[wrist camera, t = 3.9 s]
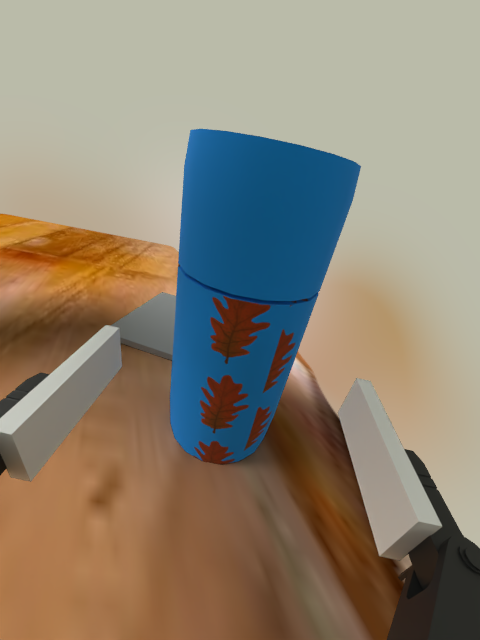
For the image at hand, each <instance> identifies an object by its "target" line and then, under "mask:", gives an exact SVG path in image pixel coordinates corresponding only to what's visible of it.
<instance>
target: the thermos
mask: <svg viewBox="0 0 480 640" xmlns="http://www.w3.org/2000/svg"><path fill="white" fill-rule="evenodd" d="M360 168H361V166H360V165H358V164H357V163H356V162H354V161H351V160H348V159H346V158H343V157H340V156H337V155H335V154H331V153H327V152H324V151H320V150H316V149H312V148H309V147H305V146H301V145H297V144H292V143H287V142H283V141H278V140H274V139H269V138H264V137H259V136H253V135H247V134H241V133H234V132H228V131H220V130H208V129H196V130H191V131H190V137H189V142H188V148H187V154H186V159H185V165H184V181H183V198H182V213H181V229H180V246H179V261H178V263H179V266H178V277H177V293H176V309H175V325H174V342H173V358H172V374H171V390H170V422H171V427H172V430H173V434H174V437H175V439H176V440H177V442H178V443H179V444H180V445H181V446H182V448H183V449H184V450H185V451H186V452H187V453H189V454H191V455H192V456H194V457H196V458H198V459H199V460H201V461H204V462H210V463H216V464H227V463H232V462H238V461H241V460H242V459H244V458H246V457H247V456H249V455H250V454H252V453H254V452H255V450H256V449H257V448H258V446H259V445H260V443H261V442H262V440H263V439H264V436H265V434H266V432H267V430H268V428H269V426H270V423H271V421H272V419H273V417H274V414H275V412H276V409H277V406H278V403H279V401H280V398H281V395H282V392H283V390H284V387H285V384H286V381H287V379H288V376H289V373H290V370H291V368H292V365H293V362H294V360H295V357H296V354H297V351H298V349H299V346H300V342H301V340H302V338H303V335H304V332H305V329H306V327H307V324H308V321H309V318H310V316H311V313H312V310H313V307H314V305H315V302H316V299H317V297H318V292H319V291H320V288H321V285H322V283H323V280H324V277H325V275H326V272H327V269H328V266H329V264H330V260H331V258H332V255H333V253H334V250H335V247H336V244H337V241H338V239H339V236H340V233H341V231H342V228H343V225H344V222H345V220H346V217H347V214H348V212H349V209H350V206H351V203H352V201H353V197H354V193H355V188H356V184H357V180H358V176H359V172H360Z"/></svg>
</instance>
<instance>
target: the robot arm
mask: <svg viewBox="0 0 480 640" xmlns="http://www.w3.org/2000/svg"><path fill="white" fill-rule="evenodd" d="M121 367H122V358H121V343H120V328H118V327H113V326H108V325H105V326H104V327H103V328H102V329H101V330H100V331H98V332H97V333H96V334H95V335H94V336H93V337H92V338H90V339H89V340H88V341H87V342H86V343H85V344H84V345H83V346H81V347H80V348H79V349H78V350H77V351H76V352H75V353H73V354H72V355H71V356H70V357H69V358H68V359H67V360H66V361H64V362H63V363H62V364H61V365H60V366H59V367H58V368H57V369H55V370H54V371H53V372H52V373H51V374H45V373H39V374H37V375H35V376H33V377H31V378H29V379H27V380H26V381H24V382H23V383H22V384H21V385H20V386H18V387H17V388H16V390H15V391H12V392H11V393H10V394H9V395H7V396H6V398H5V399H3V400H1V401H0V475H1V474H2V473H3V472H4V470H5V469H7V471H8V473H9V475H10V477H11V478H16V479H21V480H25V481H30V482H31V481H32V480H33V478H34V477H35V476H36V475H37V473H38V472H39V471H40V469H41V468H42V467H43V466H44V464H45V463H46V462H47V461H48V459H49V458H50V457H51V456H52V454H53V453H54V452H55V451H56V449H57V448H58V447H59V446H60V444H61V443H62V442H63V440H64V439H65V438H66V437H67V435H68V434H69V433H70V432H71V430H72V429H73V428H74V427H75V425H76V424H77V423H78V422H79V420H80V419H81V418H82V416H83V415H84V414H85V413H86V411H87V410H88V409H89V408H90V406H91V405H92V404H93V403H94V401H95V400H96V399H97V398H98V396H99V395H100V394H101V393H102V391H103V390H104V389H105V387H106V386H107V385H108V384H109V382H110V381H111V380H112V379H113V377H114V376H115V375H116V374H117V372H118V371H119V370H120V369H121ZM338 415H339V418H340V422H341V425H342V429H343V432H344V436H345V439H346V442H347V446H348V449H349V453H350V456H351V460H352V463H353V467H354V470H355V474H356V477H357V480H358V484H359V487H360V491H361V494H362V498H363V501H364V505H365V508H366V512H367V515H368V519H369V522H370V525H371V529H372V532H373V536H374V539H375V543H376V546H377V550H378V553H379V556H381V557H385V558H390V559H395V560H399V561H400V560H401V559H402V558H404V557H405V556H406V555H407V554H409V557H410V560H411V562H412V566H411V567H409V568H408V569H407V570H405V571H404V572H403V573H401V574H400V576H399V577H398V578H399V579H400V580H401V581H402V580H403V579H405V578H406V580H405V583H404V586H403V589H402V593H401V596H400V599H399V602H398V605H397V609H396V612H395V615H394V618H393V622H392V625H391V628H390V631H389V634H388V638H387V640H480V548H478V546H477V545H475V544H474V543H473V542H471V541H470V540H468V539H467V538H465V537H464V536H463V535H462V533H461V531H460V530H459V528H458V526H457V524H456V522H455V520H454V518H453V517H452V515H451V513H450V511H449V509H448V507H447V506H446V504H445V502H444V500H443V498H442V496H441V494H440V492H439V491H438V490H437V487H436V485H435V483H434V481H433V480H432V479H431V476H430V474H429V472H428V470H427V468H426V467H425V465H424V463H423V462H422V461H421V460H420V458H419V457H418V456H417V455H416V454H415V453H414V452H413V451H410V450H406V449H404V448H403V446H402V444H401V442H400V440H399V438H398V436H397V434H396V432H395V430H394V428H393V426H392V424H391V422H390V420H389V418H388V416H387V413H386V412H385V410H384V408H383V405H382V403H381V401H380V399H379V397H378V395H377V393H376V391H375V389H374V387H373V385H372V383H371V381H368V380H362V379H358V378H356V380H355V382H354V384H353V386H352V387H351V389H350V391H349V393H348V395H347V397H346V399H345V401H344V402H343V404H342V406H341V408H340V410H339V411H338Z"/></svg>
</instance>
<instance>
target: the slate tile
mask: <svg viewBox="0 0 480 640" xmlns="http://www.w3.org/2000/svg"><path fill="white" fill-rule="evenodd" d="M175 309H176V296H174V295H170V294H167V293H164V292H162V293H160V294H159V295H157V296H155V297H154V298H152V299H151V300H149V301H148V302H146V303H145V304H143V305H142V306H140V307H138V308H137V309H135V310H134V311H132V312H131V313H129V314H128V315H126V316H125V317H123V318H122V319H120V320H118V321H117V322H115V323H114V324H112V325H111V326H113V327H118V328H120V343H122V344H124V345H127V346H130V347H133V348H136V349H139V350H142V351H145V352H148V353H151V354H154V355H157V356H160V357H163V358H165V359H168V360H171V361H172V358H173V342H174V325H175Z"/></svg>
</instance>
